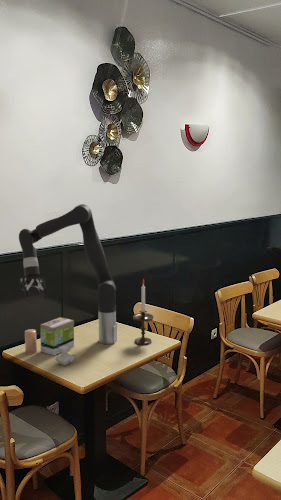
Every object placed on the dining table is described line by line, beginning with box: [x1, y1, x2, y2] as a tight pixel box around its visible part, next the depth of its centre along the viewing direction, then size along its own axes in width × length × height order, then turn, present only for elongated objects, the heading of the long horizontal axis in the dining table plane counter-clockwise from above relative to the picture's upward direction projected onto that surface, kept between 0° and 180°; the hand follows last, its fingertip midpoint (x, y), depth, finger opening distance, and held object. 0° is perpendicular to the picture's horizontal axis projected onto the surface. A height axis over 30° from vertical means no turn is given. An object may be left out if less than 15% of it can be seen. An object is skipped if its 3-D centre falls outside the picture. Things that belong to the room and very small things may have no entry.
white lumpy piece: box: [54, 345, 75, 366], centre depth 221 cm, size 9×7×8 cm
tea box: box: [40, 316, 75, 357], centre depth 238 cm, size 15×10×15 cm, turn 148°
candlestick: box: [132, 278, 154, 346], centre depth 246 cm, size 11×11×35 cm
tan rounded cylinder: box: [24, 328, 38, 355], centre depth 235 cm, size 6×6×11 cm
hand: (34, 298), depth 237 cm, fingers open, 8 cm apart
